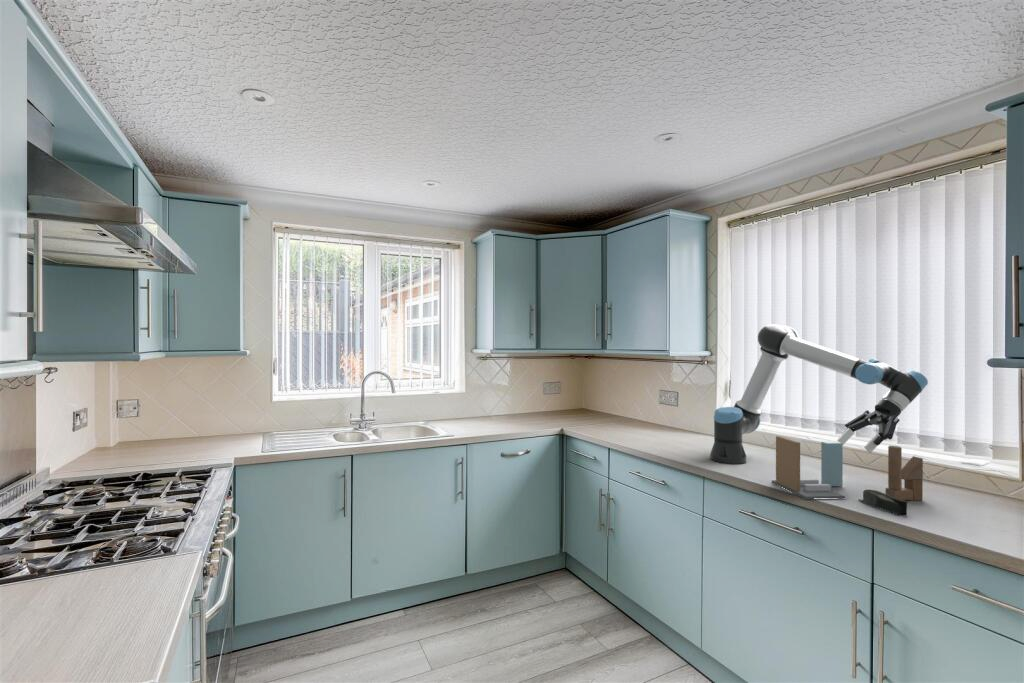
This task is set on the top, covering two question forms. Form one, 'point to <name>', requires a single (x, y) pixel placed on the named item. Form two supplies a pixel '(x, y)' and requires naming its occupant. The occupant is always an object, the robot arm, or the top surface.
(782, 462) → the stand
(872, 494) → the black stapler
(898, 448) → the wooden block
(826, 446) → the door panel
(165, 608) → the top surface
